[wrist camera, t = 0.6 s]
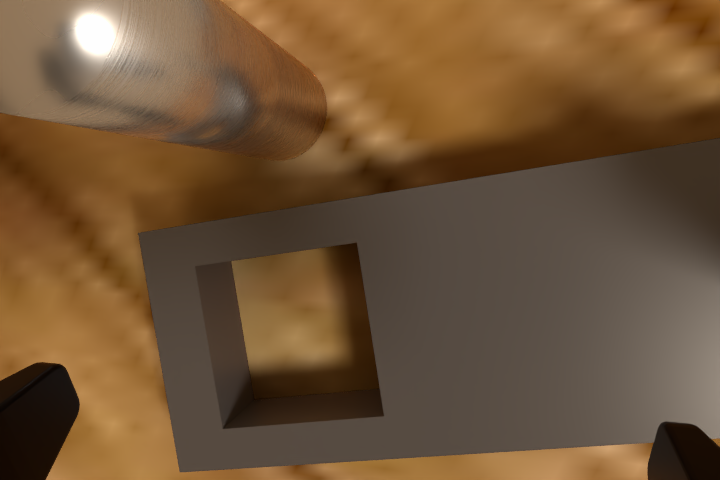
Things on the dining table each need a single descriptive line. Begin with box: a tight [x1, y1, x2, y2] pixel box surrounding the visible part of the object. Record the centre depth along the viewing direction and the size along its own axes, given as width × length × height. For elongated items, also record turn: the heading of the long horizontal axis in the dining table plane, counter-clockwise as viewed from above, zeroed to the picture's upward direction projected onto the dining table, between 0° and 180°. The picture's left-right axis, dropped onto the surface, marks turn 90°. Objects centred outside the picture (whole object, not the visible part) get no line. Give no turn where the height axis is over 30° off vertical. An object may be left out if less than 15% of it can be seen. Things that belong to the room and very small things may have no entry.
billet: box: [0, 0, 327, 161], centre depth 16 cm, size 4×4×13 cm
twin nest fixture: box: [138, 138, 720, 472], centre depth 19 cm, size 9×28×3 cm, turn 99°
